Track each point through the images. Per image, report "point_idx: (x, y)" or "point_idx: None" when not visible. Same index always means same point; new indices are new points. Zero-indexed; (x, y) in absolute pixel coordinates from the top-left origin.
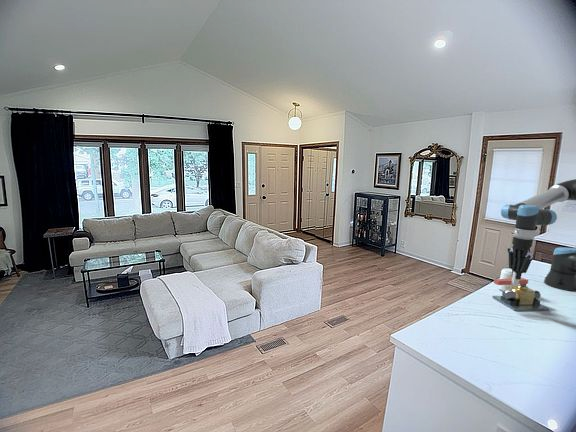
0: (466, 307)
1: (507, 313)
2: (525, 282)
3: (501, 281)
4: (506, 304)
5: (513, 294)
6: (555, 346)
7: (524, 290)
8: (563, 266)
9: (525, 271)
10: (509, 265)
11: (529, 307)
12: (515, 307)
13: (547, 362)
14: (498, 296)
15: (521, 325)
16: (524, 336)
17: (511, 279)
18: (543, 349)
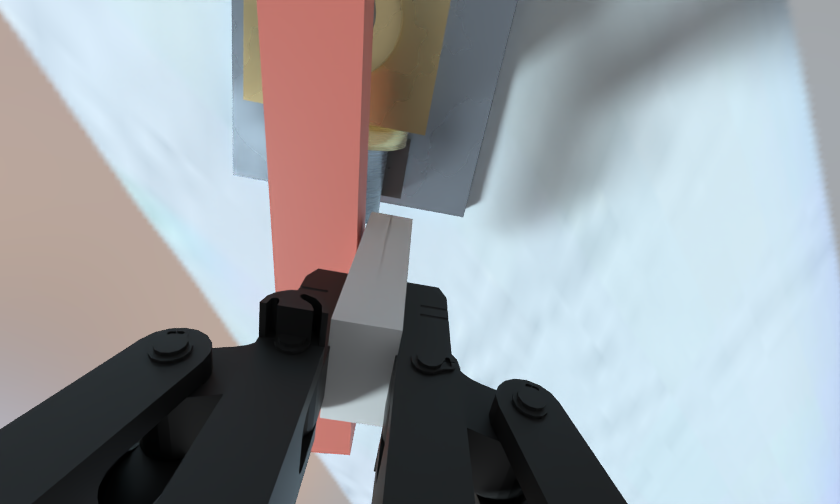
0: (361, 435)
1: (475, 288)
2: (370, 23)
3: (351, 423)
4: (385, 201)
5: (378, 171)
6: (789, 366)
7: (415, 74)
8: None
9: (554, 436)
10: (130, 481)
11: (481, 62)
12: (450, 193)
13: (801, 485)
14: (248, 135)
15: (602, 339)
16: (668, 414)
17: (310, 261)
18: (762, 430)
